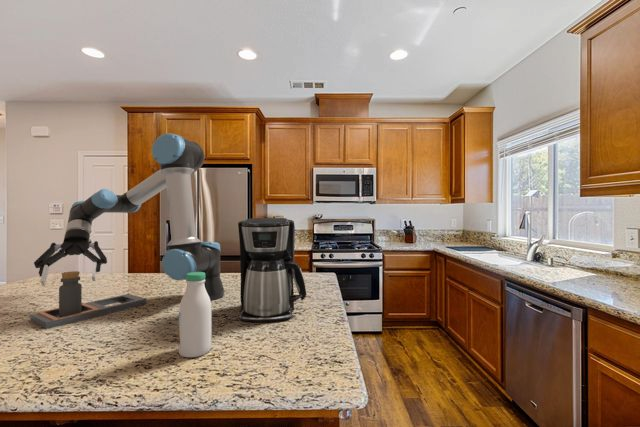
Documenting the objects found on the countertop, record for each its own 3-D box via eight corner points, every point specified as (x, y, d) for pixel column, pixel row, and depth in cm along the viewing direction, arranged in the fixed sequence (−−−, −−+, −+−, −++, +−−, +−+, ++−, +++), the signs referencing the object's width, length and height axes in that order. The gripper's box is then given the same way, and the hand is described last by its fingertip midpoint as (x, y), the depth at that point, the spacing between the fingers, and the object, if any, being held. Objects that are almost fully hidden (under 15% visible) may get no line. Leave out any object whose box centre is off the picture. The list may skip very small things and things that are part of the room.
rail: (146, 303, 117) (146, 297, 117) (46, 329, 91) (46, 321, 91) (128, 298, 124) (128, 293, 124) (30, 320, 98) (30, 313, 98)
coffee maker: (245, 328, 93) (246, 218, 93) (223, 301, 121) (223, 217, 121) (311, 317, 104) (311, 218, 104) (276, 294, 132) (277, 217, 132)
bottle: (67, 314, 104) (67, 270, 104) (85, 314, 105) (85, 270, 105) (54, 320, 98) (54, 274, 98) (73, 320, 99) (73, 274, 99)
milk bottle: (217, 348, 79) (218, 271, 79) (194, 361, 72) (194, 277, 72) (196, 342, 83) (196, 269, 83) (171, 354, 76) (172, 274, 76)
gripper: (117, 239, 125) (113, 283, 112) (36, 242, 113) (22, 291, 100) (116, 227, 120) (112, 271, 107) (32, 228, 108) (16, 278, 95)
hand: (68, 281), depth 104 cm, fingers open, 13 cm apart
